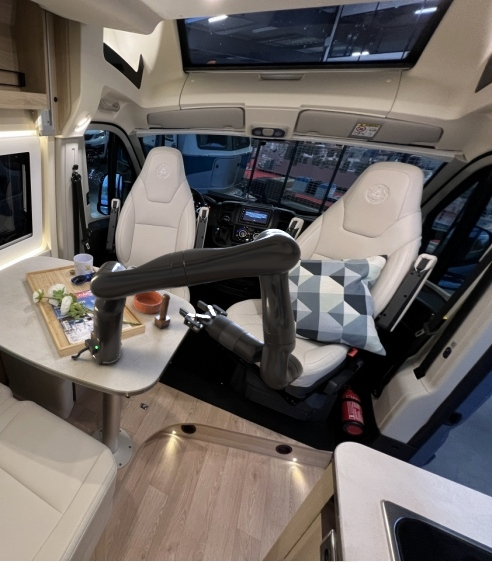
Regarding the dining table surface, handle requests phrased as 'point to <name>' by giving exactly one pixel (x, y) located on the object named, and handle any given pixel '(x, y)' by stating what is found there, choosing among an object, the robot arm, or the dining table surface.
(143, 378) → the dining table surface
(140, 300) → the bowl
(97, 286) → the robot arm
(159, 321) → the brown mallet
